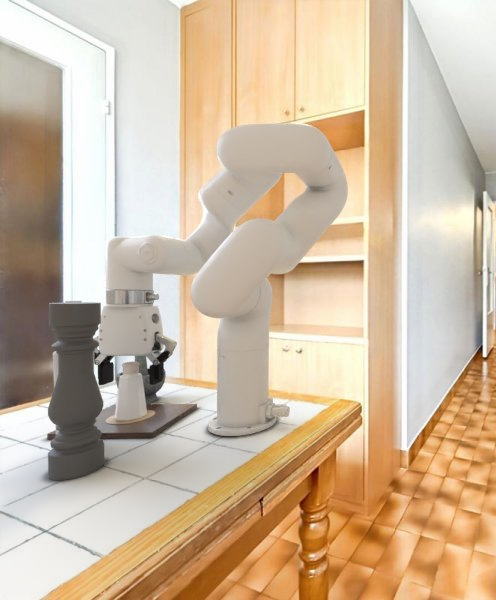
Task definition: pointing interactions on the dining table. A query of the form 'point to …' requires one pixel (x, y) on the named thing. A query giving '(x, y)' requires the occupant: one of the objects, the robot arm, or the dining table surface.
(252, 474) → the dining table surface
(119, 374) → the mortar and pestle
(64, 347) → the candle holder
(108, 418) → the board
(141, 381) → the pepper shaker
